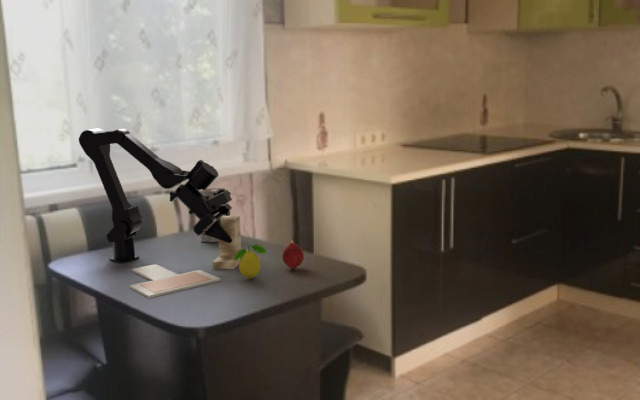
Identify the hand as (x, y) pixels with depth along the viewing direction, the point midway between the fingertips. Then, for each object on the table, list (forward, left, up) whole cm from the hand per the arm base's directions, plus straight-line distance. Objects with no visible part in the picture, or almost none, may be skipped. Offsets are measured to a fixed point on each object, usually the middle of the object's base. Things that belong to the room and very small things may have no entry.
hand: (234, 239), depth 191 cm
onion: (+19, +4, -7) cm, 20 cm away
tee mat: (-4, -22, -7) cm, 23 cm away
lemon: (+16, -9, -7) cm, 19 cm away
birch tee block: (-1, -1, -7) cm, 7 cm away
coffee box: (-27, +14, -7) cm, 31 cm away
